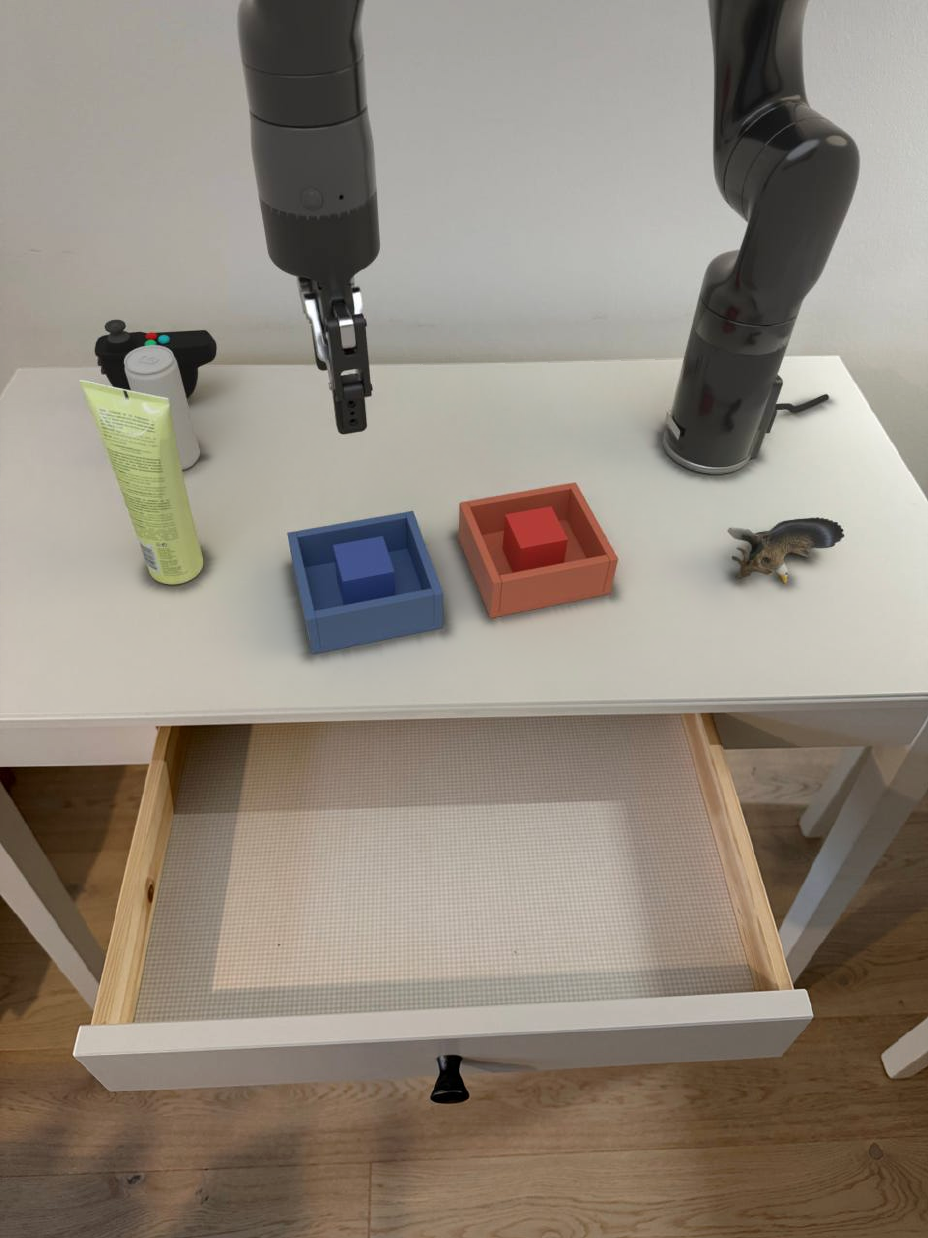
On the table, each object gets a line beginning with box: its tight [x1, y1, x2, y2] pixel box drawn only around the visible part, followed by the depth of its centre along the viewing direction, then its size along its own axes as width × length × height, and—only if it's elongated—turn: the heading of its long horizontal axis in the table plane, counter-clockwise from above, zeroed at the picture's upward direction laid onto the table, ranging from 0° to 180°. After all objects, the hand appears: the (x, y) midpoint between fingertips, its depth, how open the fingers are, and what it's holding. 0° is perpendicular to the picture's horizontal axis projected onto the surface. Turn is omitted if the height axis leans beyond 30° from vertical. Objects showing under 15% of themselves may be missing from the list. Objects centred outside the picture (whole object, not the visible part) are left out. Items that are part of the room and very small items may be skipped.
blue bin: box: [286, 510, 444, 655], centre depth 78 cm, size 12×11×5 cm
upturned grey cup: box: [124, 345, 201, 471], centre depth 87 cm, size 5×5×12 cm
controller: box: [93, 319, 218, 400], centre depth 94 cm, size 4×12×10 cm, turn 100°
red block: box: [503, 506, 568, 573], centre depth 80 cm, size 4×4×4 cm
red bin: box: [457, 481, 619, 619], centre depth 81 cm, size 12×11×5 cm
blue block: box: [333, 536, 396, 605], centre depth 77 cm, size 4×4×4 cm
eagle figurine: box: [727, 516, 845, 584], centre depth 81 cm, size 8×7×9 cm
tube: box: [79, 379, 204, 585], centre depth 74 cm, size 6×5×20 cm
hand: (340, 397), depth 68 cm, fingers open, 8 cm apart
